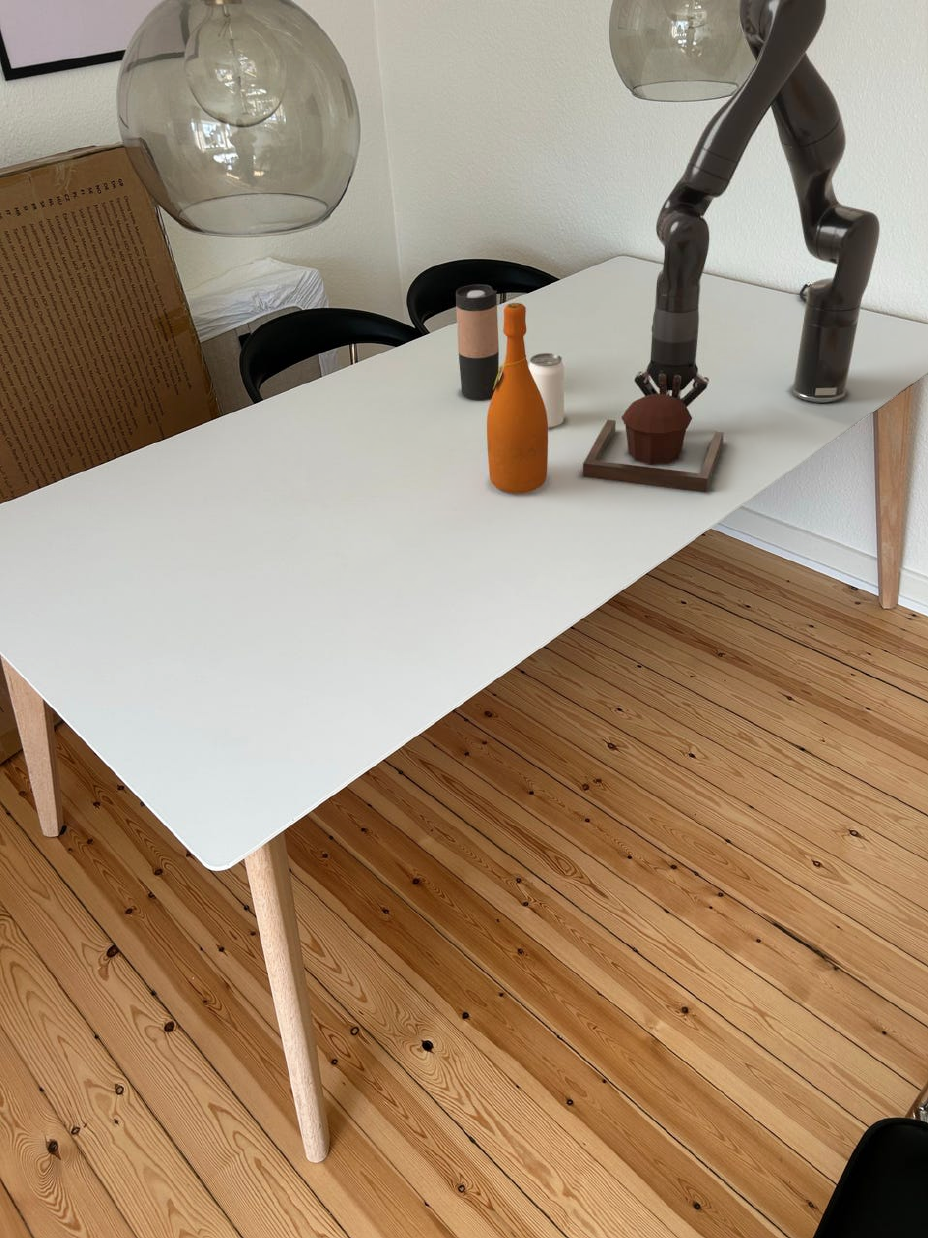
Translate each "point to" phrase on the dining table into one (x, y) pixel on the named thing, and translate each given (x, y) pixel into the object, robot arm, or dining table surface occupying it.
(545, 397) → the can
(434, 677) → the dining table surface
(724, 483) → the dining table surface
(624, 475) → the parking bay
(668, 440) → the muffin
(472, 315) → the travel mug
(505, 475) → the wine bottle
